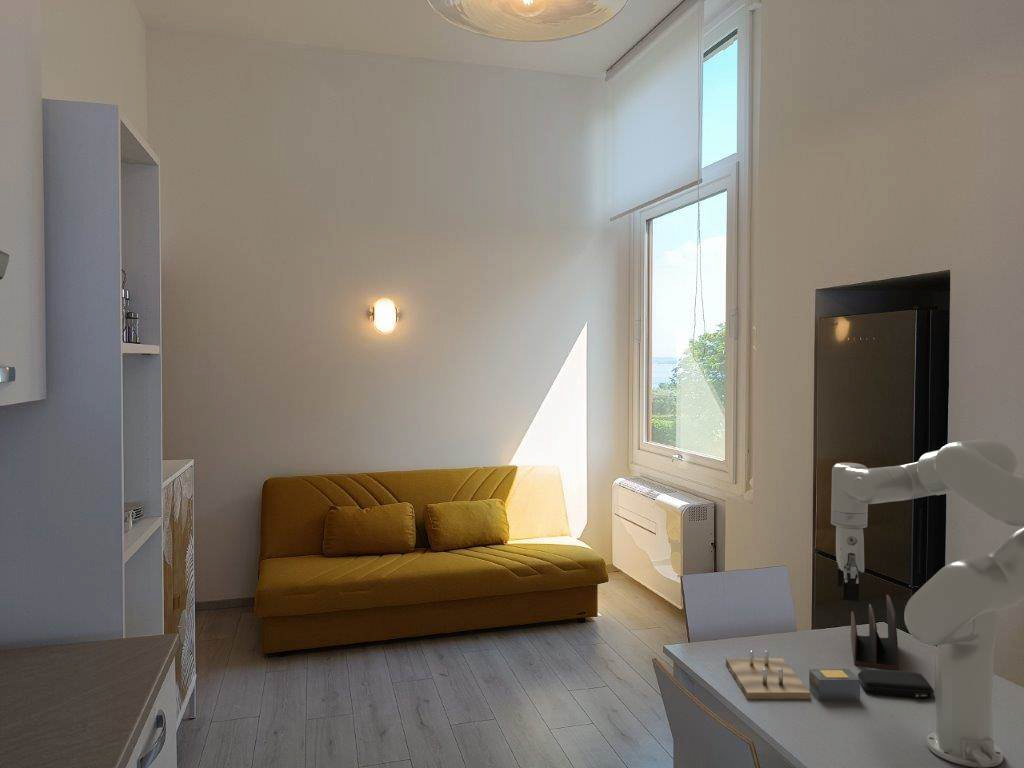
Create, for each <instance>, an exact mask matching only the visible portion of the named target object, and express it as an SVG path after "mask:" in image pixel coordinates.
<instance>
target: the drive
mask: <svg viewBox="0 0 1024 768" xmlns="http://www.w3.org/2000/svg"><path fill="white" fill-rule="evenodd" d="M808 674H809V677H808V678H809V679H808V681H809V683H808V684H809V686H808V687H809V689H808V690H809V691H810V692H811V694H812V695H813V696H814V698H816V700H817V701H818V702H861V682H860V679H859V678H858V675H856V674H855V673H854V672H853V671H852V670H851V669H850V668H826V669H825V668H818V669H817V668H814V669H813V668H810V669H808Z"/></svg>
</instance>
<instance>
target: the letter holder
mask: <svg viewBox="0 0 1024 768" xmlns="http://www.w3.org/2000/svg"><path fill="white" fill-rule="evenodd" d="M893 604H894V603H893V602H892V599H891V597H890V595H889V594H886V615H887V620H886V621H887V637H880V634H879V633H878V627H877V620H876V617H875V615H876V614H875V611H874V609H873V608H874V607H873V606H872V604H871V603H869V604H868V629H869V630H868V631H869V632H868V635H858V629H857V622H856V616H855V611H851V613H850V614H851V615H850V643H851V649H852V657H853V664H854V666H859V665H861V667H867V666H869V668H878V669H886V670H892V671H893V670H894V671H898V670H899V668H900V667H899V645H898V644H899V642H898V631H897V630H898V629H897V616H896V615H897V614H896V612H895V608H894V605H893Z"/></svg>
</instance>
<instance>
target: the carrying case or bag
mask: <svg viewBox="0 0 1024 768" xmlns="http://www.w3.org/2000/svg"><path fill="white" fill-rule="evenodd" d="M857 677H858V678H859V679H860V685H861V686H862V687H863V689H864V690H865V691H866V692H867V693H868V694H871V695H881V696H882V695H883V696H894V697H903V698H904V697H905V698H915V699H917V698H919V699H929V698H931V697H932V696H934V695H935V690H934V688H933V687H932V686H931V684H930V682H929V681H928V680H927V679H926V678H925V677H924V676H923V674H921V673H917V672H910V671H909V672H906V671H897V670H894V671H893V670H883V669H882V670H880V669H879V670H878V669H877V670H876V669H862V670H861V671H859V672H858V674H857Z"/></svg>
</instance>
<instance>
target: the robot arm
mask: <svg viewBox="0 0 1024 768" xmlns="http://www.w3.org/2000/svg"><path fill="white" fill-rule="evenodd" d="M1017 461H1018V460H1017V457H1016V454H1015V452H1014V450H1012V448H1010V446H1008V445H1007V444H1005V443H1004V442H1002V441H1000V440H996V439H989V438H987V439H973V440H959V441H953V442H950V443H947V444H945V445H944V446H942V447H941V448H940V449H937V450H932V451H928V452H925V453H923V454H922V455H921V456H920V457H919V459H918V461H916V462H912V463H911V462H910V463H905V464H899V465H894V466H882V467H881V466H880V467H872V468H871V467H869V468H868V467H867V466H866V465H864V464H862V463H855V462H838V463H835V464H834V465H833V466H832V468H831V502H830V505H831V506H830V508H831V509H830V524H831V525H833V526H835V556H836V558H835V559H836V564H837V573H836V574H837V576H836V577H837V579H836V580H837V581H836V582H837V583H836V584H837V587H841V588H842V600H844V601H852V602H859V600H860V599H859V598H860V583H859V582H860V581H859V572H860V573H864V572H865V541H864V540H865V539H864V537H865V536H864V528H867V527H868V517H869V515H868V514H869V513H868V512H869V511H868V510H869V509H868V508H869V505H874V504H876V505H877V504H883V503H890V502H892V503H893V502H901V501H908V500H909V501H910V500H913V499H919V498H924V497H930V496H940V495H946V494H952V493H955V494H957V495H958V496H960V497H961V498H962V499H964V500H966V501H968V502H969V503H970V504H972V505H973V506H975V507H976V508H978V509H979V510H981V511H983V512H984V513H985V514H986V515H988V516H989V517H992V519H993V518H994V519H995V520H996V521H998V522H1000V523H1003V524H1005V525H1008V526H1014V527H1021V528H1019V529H1018V530H1016V531H1015V532H1013V533H1012V534H1011V535H1009V536H1008V537H1007V538H1006V539H1005V540H1004V542H1002V543H1001V544H999V546H998V547H996V548H995V549H994V550H992V551H991V552H989V553H987V554H984V555H980V556H979V555H978V556H977V557H976V556H975V557H970V558H964V559H959V560H956V561H955V560H954V561H952V562H950V563H948V564H947V565H945V566H943V567H942V568H941V569H939V570H938V571H937V572H936V573H935V574H934V575H933V576H932V577H931V578H930V579H928V580H927V582H925V583H924V584H923V585H922V586H921V587H920V588H919V589H918V590H917V591H916V592H914V594H913V595H912V596H911V597H910V598H909V599H908V601H907V602H906V605H905V606H904V607H905V608H904V616H903V617H904V624H905V626H906V629H907V631H908V632H909V634H911V636H912V637H913V638H914V639H916V640H917V641H919V642H921V643H922V644H925V645H928V646H936V649H935V657H934V658H935V661H934V662H935V663H934V668H935V669H934V671H935V672H934V676H935V677H934V678H935V679H934V681H935V683H934V685H935V687H934V688H935V690H934V699H935V700H934V704H935V709H934V710H935V713H934V714H935V730H934V731H932V732H931V733H929V734H928V735H927V736H926V746H927V747H928V749H929V750H930V751H931V752H932V753H934V754H935V755H936V756H938V757H939V758H941V759H944V760H945V761H948V762H950V763H953V764H956V765H960V766H964V767H971V768H994V767H997V766H999V765H1000V764H1002V762H1003V761H1004V752H1003V751H1002V749H1001V748H1000V747H999V746H998V745H997V744H996V743H995V740H994V656H995V655H994V653H995V643H996V640H997V639H996V638H997V634H998V630H999V625H1000V624H999V621H1000V617H999V616H1000V615H999V611H1002V610H1006V609H1009V608H1012V607H1015V606H1016V605H1018V604H1019V603H1021V602H1022V601H1023V600H1024V474H1017V475H1016V474H1015V472H1016V470H1017V467H1018V466H1017V465H1018V462H1017ZM1014 474H1015V475H1014Z"/></svg>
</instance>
